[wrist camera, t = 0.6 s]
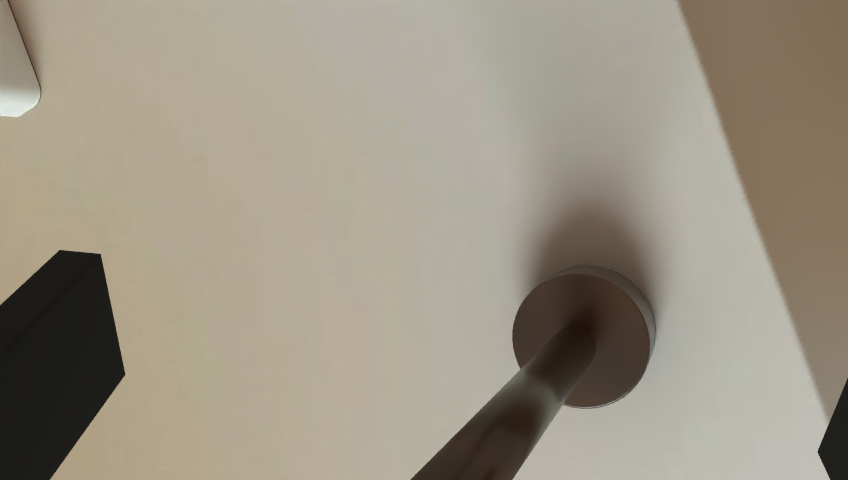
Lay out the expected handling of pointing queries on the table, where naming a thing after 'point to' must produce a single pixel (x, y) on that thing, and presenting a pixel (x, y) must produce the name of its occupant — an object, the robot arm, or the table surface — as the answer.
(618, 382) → the dark brown post
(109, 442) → the table surface
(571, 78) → the table surface
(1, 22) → the slotted bracket
